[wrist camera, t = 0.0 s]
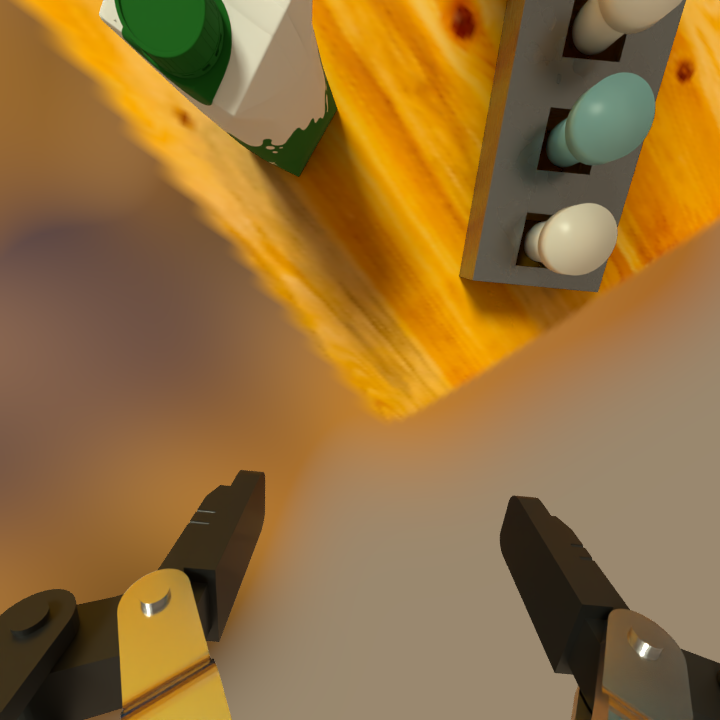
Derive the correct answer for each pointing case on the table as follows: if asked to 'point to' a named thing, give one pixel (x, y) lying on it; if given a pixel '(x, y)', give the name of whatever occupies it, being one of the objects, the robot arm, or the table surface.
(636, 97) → the plug teal
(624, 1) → the ivory plug
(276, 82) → the milk carton
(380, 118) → the table surface
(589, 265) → the ivory plug
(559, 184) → the socket strip
